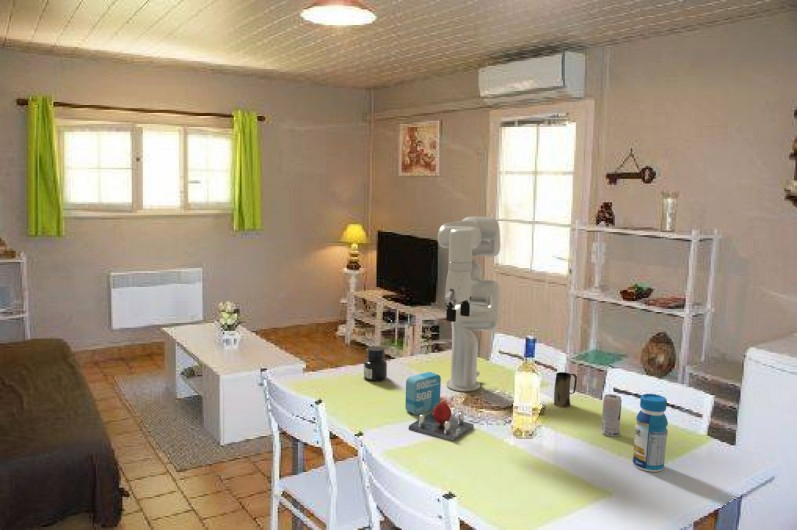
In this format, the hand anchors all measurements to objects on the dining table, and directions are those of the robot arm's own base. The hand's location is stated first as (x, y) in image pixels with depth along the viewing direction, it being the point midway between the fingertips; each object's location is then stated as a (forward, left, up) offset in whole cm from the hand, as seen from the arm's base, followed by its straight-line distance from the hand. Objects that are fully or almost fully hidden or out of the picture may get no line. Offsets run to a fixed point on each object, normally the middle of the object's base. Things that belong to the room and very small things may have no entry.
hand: (458, 318), depth 215 cm
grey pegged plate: (+14, +3, -32) cm, 36 cm away
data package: (+4, -10, -33) cm, 34 cm away
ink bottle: (-14, -42, -32) cm, 55 cm away
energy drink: (-13, +48, -32) cm, 59 cm away
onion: (+14, +3, -31) cm, 35 cm away
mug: (-29, +28, -32) cm, 52 cm away
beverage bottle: (+4, +63, -32) cm, 71 cm away
